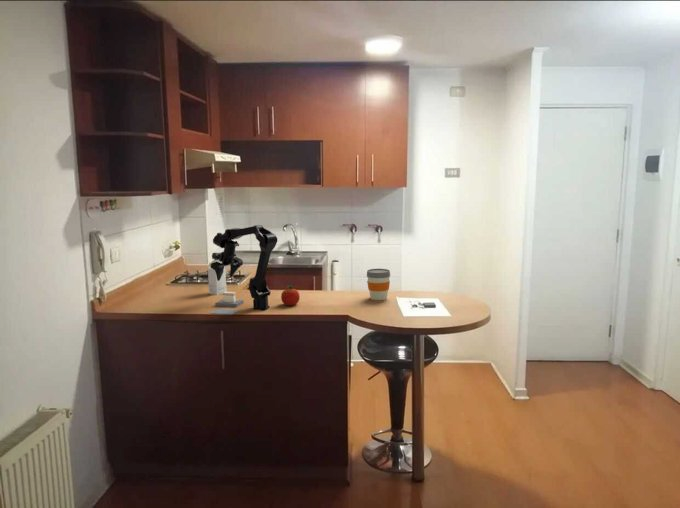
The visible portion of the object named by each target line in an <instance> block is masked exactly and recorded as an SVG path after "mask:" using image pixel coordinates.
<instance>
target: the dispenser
mask: <svg viewBox="0 0 680 508" xmlns="http://www.w3.org/2000/svg"><path fill="white" fill-rule="evenodd" d="M244 301H245V300H244V299H236V302H223V298H222V299H221V300H219V301H217V302H215V307H224V308H225V307H228V308H238V307H240V306H241V305H243V304H244Z"/></svg>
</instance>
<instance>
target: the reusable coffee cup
mask: <svg viewBox="0 0 680 508" xmlns="http://www.w3.org/2000/svg"><path fill="white" fill-rule="evenodd" d="M366 271H367V272H366V277H367V281H366V283H367V290H368V291H369V297H370V300H372V301H373V300H374V301H385V300H387V298H388V292H389V290H390V282H391V281H390V278H391V271H390V269H386V268H370V269H368V270H366Z"/></svg>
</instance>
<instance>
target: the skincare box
mask: <svg viewBox="0 0 680 508" xmlns="http://www.w3.org/2000/svg"><path fill="white" fill-rule="evenodd" d="M223 271H224V272H223V274H222V276H221V279H220V280H219V281H218V280H217V276H216V272H215V270H214V269H212V268H210V267H207V275H208V277H207V280H208V292H209V295H216V296H217V295H223V292H228V291H227V289H228V288H227V277H226V275H227V273H226V266H225V267H224V269H223Z"/></svg>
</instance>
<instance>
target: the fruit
mask: <svg viewBox="0 0 680 508" xmlns="http://www.w3.org/2000/svg"><path fill="white" fill-rule="evenodd" d="M286 287H287V288H288V289H286V288H285V289H284V290H283V291H282V293H281V297H280V299H281V301H282V303H283V304H284V305H285V306H289V307H290V306H291V307H292V306H296V305H297V304H298V303H299V301H300V293H299V291H298V289H295V288H293V285H287V286H286Z"/></svg>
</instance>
